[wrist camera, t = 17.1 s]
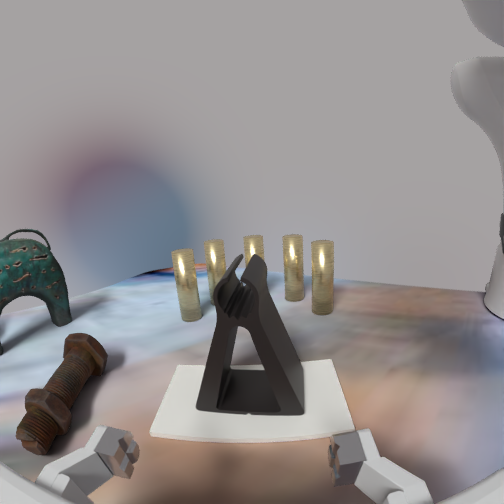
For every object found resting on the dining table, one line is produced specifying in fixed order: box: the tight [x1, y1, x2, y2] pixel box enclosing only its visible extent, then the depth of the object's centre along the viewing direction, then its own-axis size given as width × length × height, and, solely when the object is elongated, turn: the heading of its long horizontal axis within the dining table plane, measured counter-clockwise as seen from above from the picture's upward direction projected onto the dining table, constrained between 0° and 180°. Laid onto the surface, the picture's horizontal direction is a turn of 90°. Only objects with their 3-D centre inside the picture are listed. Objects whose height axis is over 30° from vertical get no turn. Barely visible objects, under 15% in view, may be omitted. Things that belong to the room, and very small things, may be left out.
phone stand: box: [196, 253, 304, 416], centre depth 22 cm, size 9×6×12 cm, turn 82°
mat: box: [149, 359, 355, 443], centre depth 23 cm, size 16×10×1 cm, turn 88°
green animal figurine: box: [0, 229, 72, 355], centre depth 30 cm, size 20×6×20 cm, turn 151°
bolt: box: [16, 333, 108, 455], centre depth 20 cm, size 6×5×15 cm
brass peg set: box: [172, 235, 334, 322], centre depth 43 cm, size 22×10×10 cm, turn 88°
